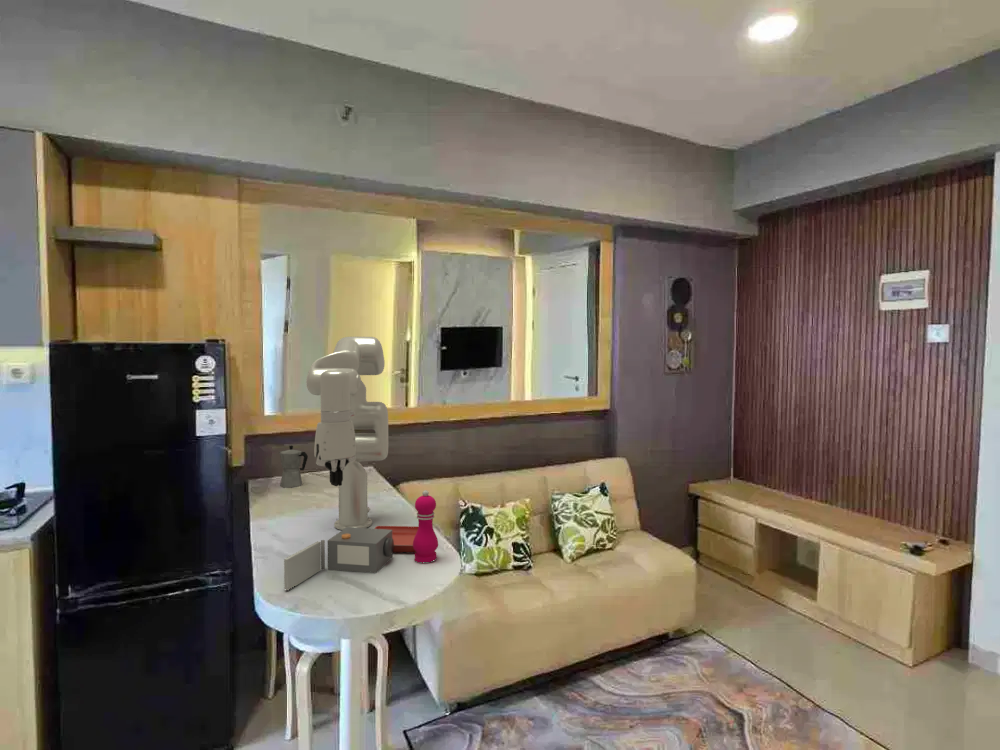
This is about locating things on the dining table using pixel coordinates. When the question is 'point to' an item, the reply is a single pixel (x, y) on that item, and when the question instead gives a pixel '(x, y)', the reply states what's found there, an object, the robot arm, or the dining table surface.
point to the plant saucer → (402, 537)
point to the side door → (304, 564)
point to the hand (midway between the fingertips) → (336, 484)
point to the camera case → (360, 549)
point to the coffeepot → (292, 467)
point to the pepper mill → (425, 529)
